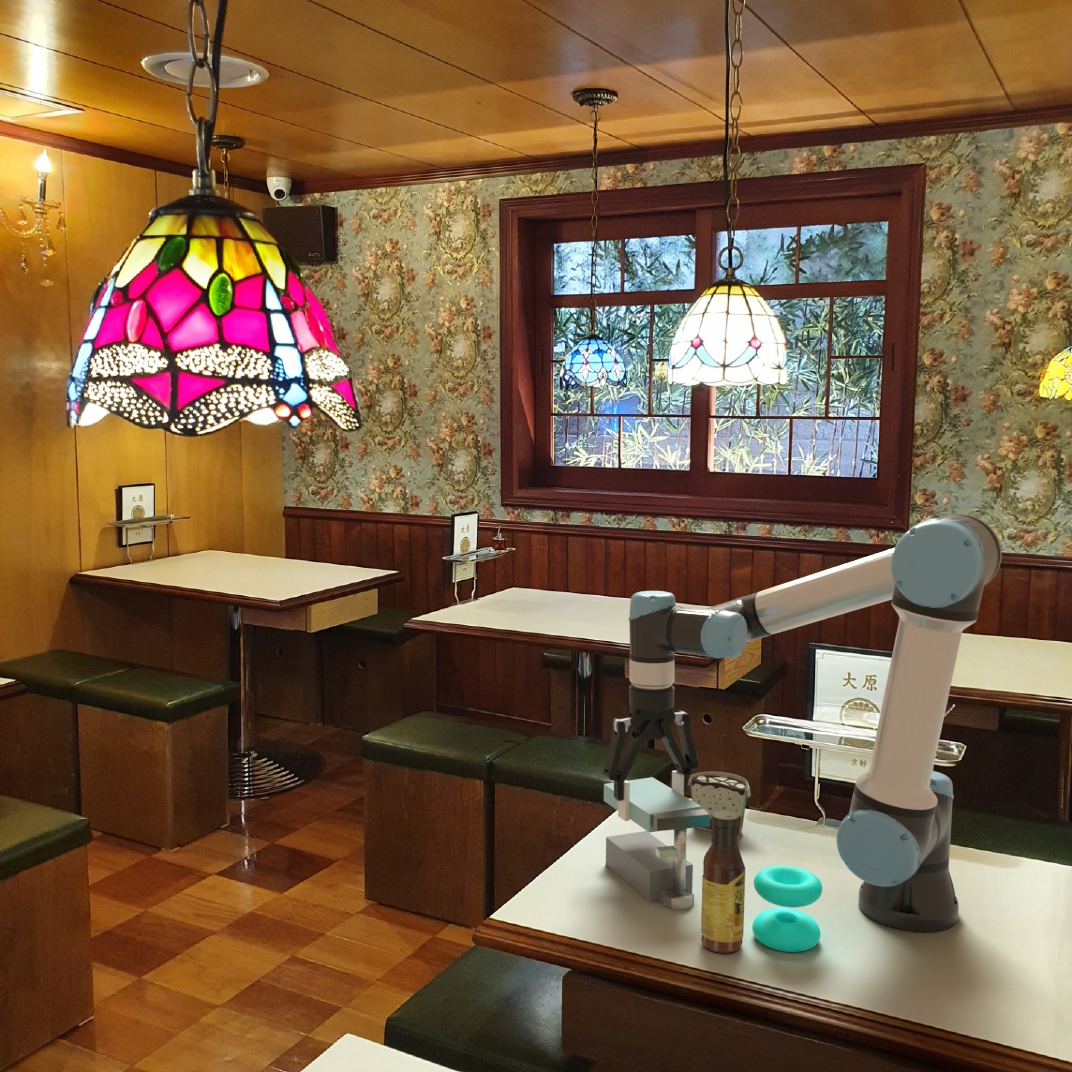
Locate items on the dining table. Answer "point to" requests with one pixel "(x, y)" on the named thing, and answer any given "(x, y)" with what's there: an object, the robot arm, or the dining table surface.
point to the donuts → (786, 924)
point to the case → (647, 868)
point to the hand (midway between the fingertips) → (651, 814)
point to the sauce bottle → (723, 887)
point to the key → (678, 839)
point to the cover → (649, 800)
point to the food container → (720, 794)
